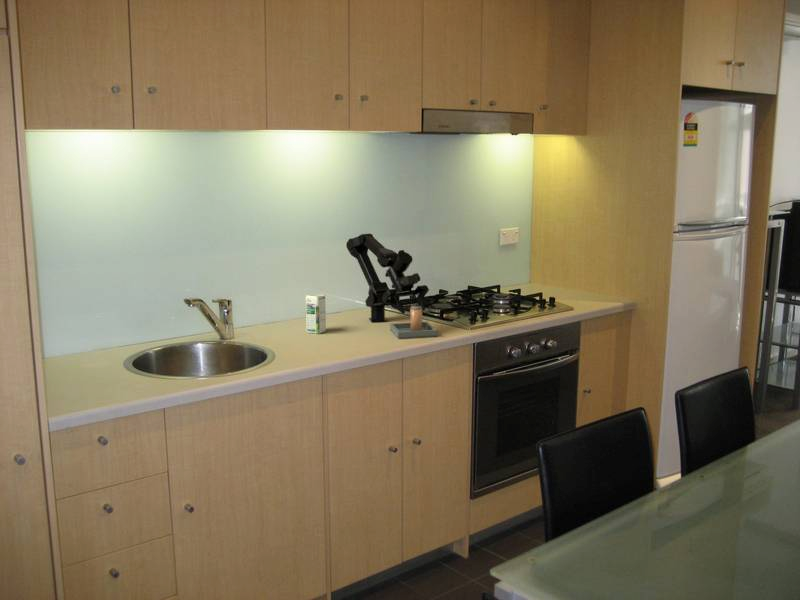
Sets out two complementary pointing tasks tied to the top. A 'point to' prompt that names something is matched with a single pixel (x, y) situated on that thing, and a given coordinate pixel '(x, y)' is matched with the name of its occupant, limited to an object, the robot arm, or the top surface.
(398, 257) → the robot arm
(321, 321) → the syrup box
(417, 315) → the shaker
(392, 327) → the tray
